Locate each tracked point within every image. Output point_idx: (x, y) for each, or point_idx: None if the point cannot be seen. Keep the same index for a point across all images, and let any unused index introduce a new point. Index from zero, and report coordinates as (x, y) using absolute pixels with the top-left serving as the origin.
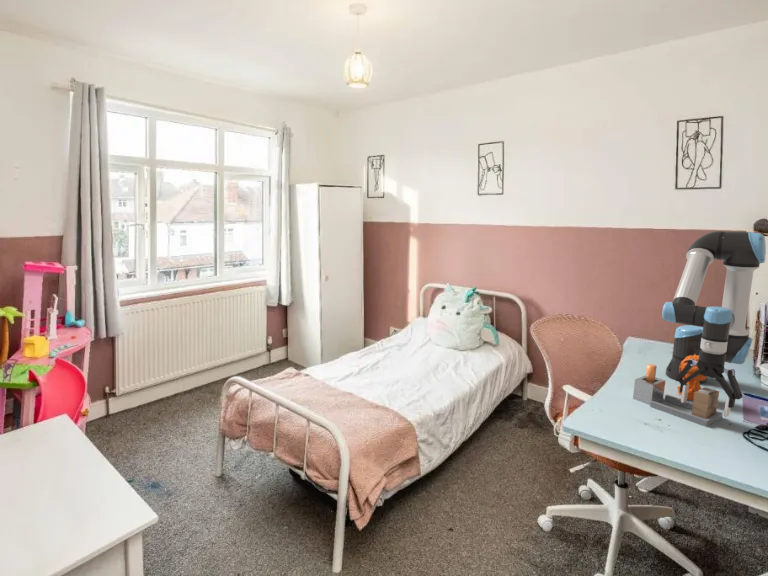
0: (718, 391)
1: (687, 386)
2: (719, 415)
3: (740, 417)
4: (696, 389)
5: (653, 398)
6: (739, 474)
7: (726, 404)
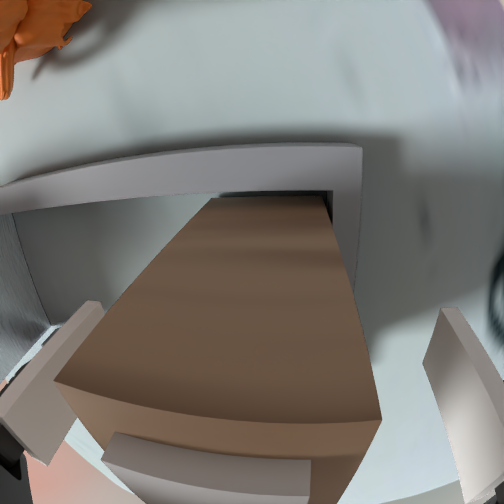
0: (366, 433)
1: (29, 428)
2: (357, 213)
3: (417, 12)
4: (3, 39)
5: (26, 330)
6: (444, 479)
7: (460, 448)
